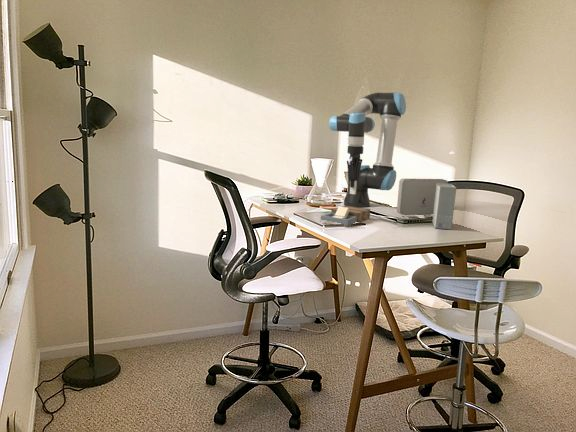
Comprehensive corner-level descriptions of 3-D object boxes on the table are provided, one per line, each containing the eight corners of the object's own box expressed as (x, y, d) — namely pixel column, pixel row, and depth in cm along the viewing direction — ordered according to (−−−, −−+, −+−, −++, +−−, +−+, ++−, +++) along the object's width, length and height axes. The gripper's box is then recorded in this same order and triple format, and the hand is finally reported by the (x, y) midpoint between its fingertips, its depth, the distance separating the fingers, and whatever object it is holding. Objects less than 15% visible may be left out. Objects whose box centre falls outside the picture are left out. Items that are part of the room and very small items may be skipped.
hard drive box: (451, 230, 216) (456, 187, 212) (434, 228, 218) (439, 186, 214) (447, 223, 231) (452, 183, 227) (431, 222, 233) (435, 182, 229)
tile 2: (340, 209, 226) (338, 206, 224) (349, 210, 223) (348, 207, 221) (336, 217, 224) (335, 214, 222) (345, 219, 221) (344, 216, 219)
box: (330, 219, 229) (330, 212, 228) (356, 223, 221) (357, 216, 220) (320, 222, 220) (320, 215, 220) (347, 227, 213) (347, 219, 212)
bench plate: (344, 215, 241) (345, 205, 240) (369, 219, 234) (370, 209, 233) (330, 219, 229) (331, 209, 228) (356, 223, 221) (357, 213, 220)
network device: (401, 219, 237) (405, 180, 233) (393, 215, 245) (397, 177, 241) (446, 218, 243) (450, 180, 239) (437, 215, 251) (441, 178, 247)
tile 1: (330, 217, 218) (330, 222, 219) (340, 218, 215) (339, 223, 216) (335, 215, 222) (335, 220, 223) (344, 217, 220) (344, 222, 220)
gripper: (354, 144, 232) (351, 191, 237) (342, 145, 221) (339, 194, 226) (368, 145, 228) (365, 193, 233) (357, 146, 217) (354, 196, 222)
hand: (352, 193), depth 229 cm, fingers closed
